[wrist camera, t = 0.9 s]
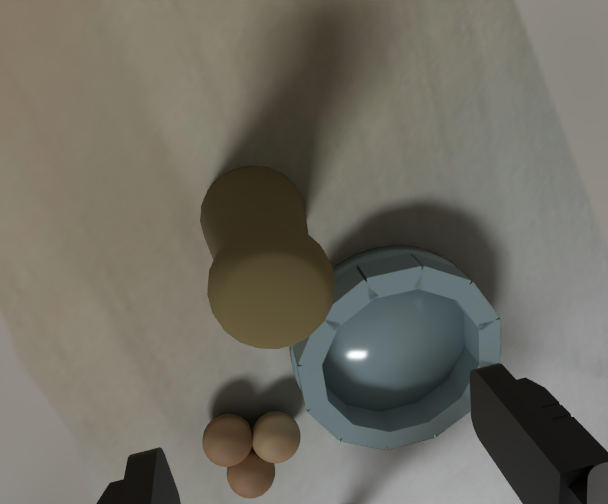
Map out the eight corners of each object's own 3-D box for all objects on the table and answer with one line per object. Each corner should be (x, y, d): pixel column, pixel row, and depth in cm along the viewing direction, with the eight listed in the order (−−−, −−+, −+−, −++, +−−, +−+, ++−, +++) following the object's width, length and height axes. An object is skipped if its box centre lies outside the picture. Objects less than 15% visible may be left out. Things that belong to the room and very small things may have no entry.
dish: (273, 270, 31) (279, 294, 28) (476, 226, 32) (502, 244, 29) (306, 436, 36) (314, 470, 33) (480, 392, 37) (503, 422, 34)
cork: (285, 150, 28) (327, 206, 18) (318, 244, 31) (371, 339, 21) (182, 188, 28) (168, 267, 18) (224, 280, 31) (231, 394, 21)
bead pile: (190, 420, 34) (188, 456, 31) (268, 375, 34) (274, 406, 31) (241, 479, 37) (244, 517, 34) (314, 437, 36) (324, 472, 33)
